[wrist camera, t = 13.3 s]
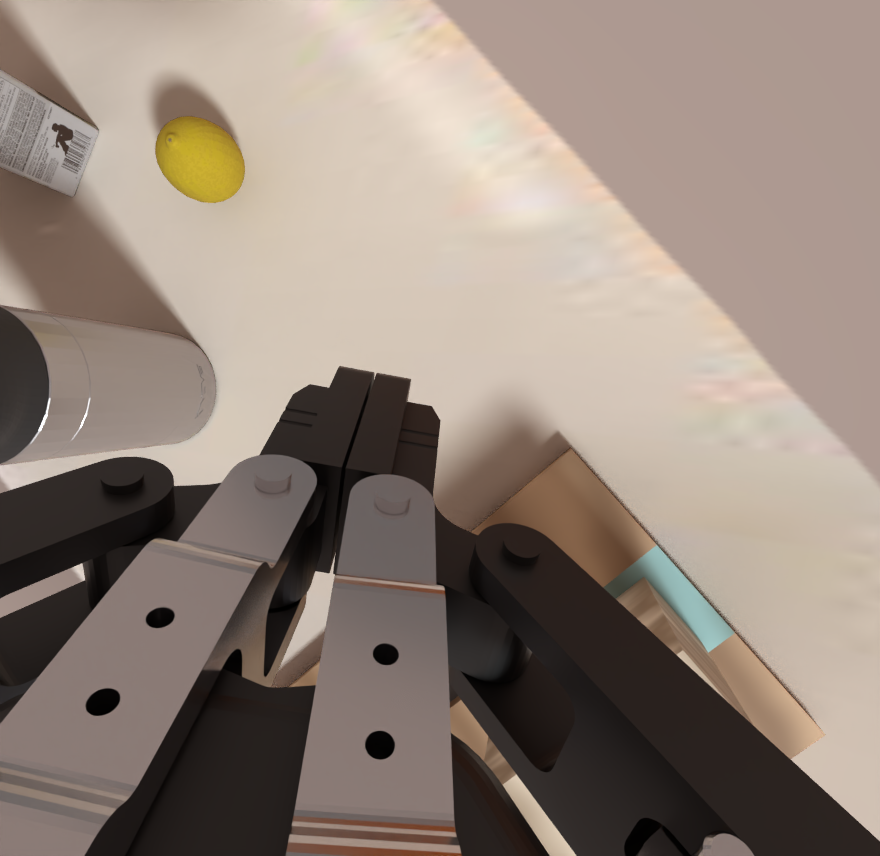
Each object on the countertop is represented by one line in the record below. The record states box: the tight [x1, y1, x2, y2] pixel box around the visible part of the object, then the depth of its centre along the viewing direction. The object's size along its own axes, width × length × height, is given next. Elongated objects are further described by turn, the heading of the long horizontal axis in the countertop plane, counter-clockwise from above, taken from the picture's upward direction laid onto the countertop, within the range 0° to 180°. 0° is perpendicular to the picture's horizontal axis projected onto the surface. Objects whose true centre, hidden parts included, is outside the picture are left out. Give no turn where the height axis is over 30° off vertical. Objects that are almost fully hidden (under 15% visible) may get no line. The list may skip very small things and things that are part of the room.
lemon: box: [155, 116, 245, 203], centre depth 46 cm, size 6×6×8 cm
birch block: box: [484, 577, 754, 856], centre depth 39 cm, size 14×6×13 cm, turn 132°
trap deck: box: [288, 448, 825, 761], centre depth 47 cm, size 32×26×2 cm
